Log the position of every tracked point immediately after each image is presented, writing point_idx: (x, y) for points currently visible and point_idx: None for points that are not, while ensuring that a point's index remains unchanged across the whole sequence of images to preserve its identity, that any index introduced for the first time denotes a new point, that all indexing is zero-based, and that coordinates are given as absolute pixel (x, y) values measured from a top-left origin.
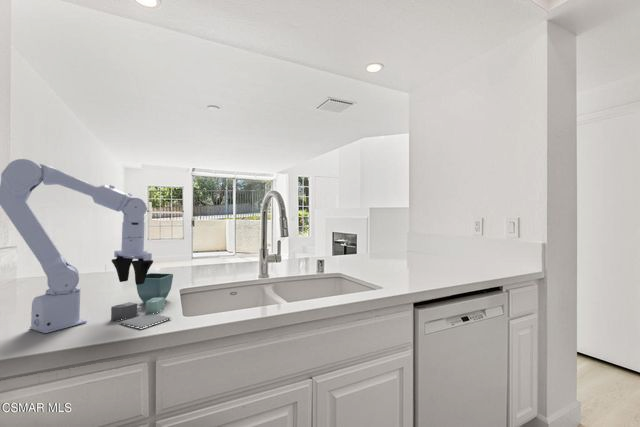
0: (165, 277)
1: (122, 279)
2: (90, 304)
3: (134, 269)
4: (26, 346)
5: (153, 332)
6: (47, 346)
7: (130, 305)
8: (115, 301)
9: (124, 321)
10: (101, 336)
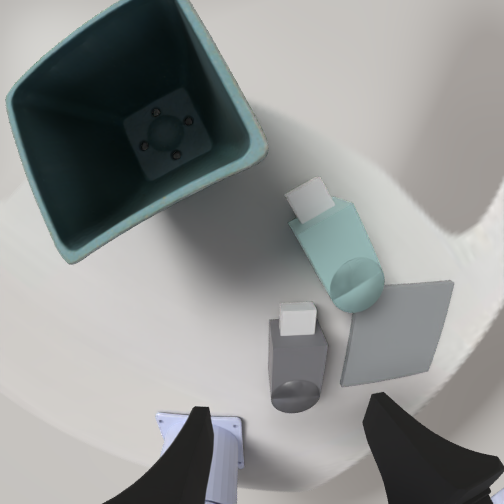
0: (231, 76)
1: (212, 440)
2: (32, 305)
3: (393, 501)
4: (285, 481)
5: (457, 356)
6: (319, 471)
7: (323, 369)
8: (42, 238)
9: (352, 379)
10: None
